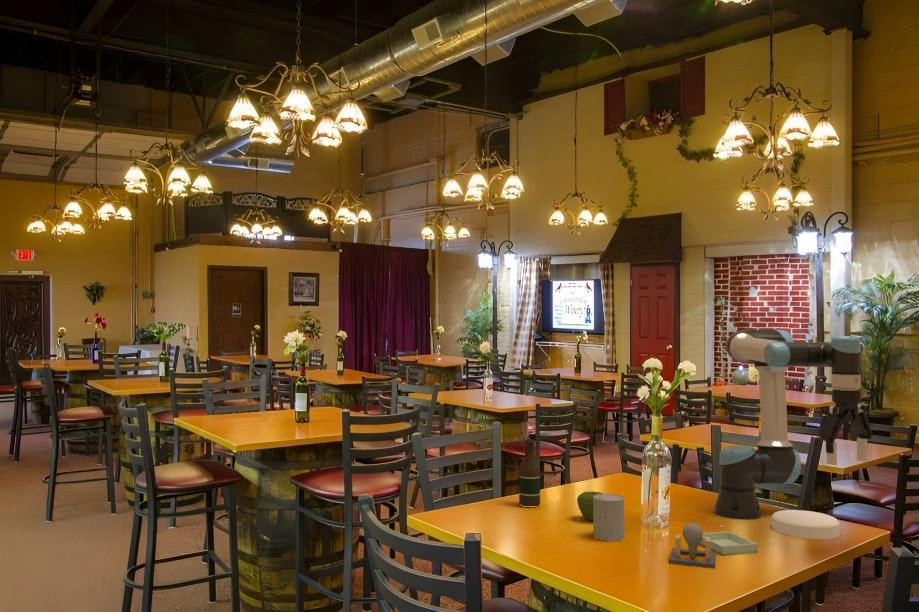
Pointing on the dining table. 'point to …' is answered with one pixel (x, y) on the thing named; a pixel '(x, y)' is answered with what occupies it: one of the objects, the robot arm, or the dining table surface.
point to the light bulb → (692, 538)
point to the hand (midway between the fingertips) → (847, 462)
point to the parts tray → (729, 543)
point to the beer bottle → (529, 477)
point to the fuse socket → (707, 554)
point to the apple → (586, 504)
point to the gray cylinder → (608, 517)
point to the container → (805, 524)
